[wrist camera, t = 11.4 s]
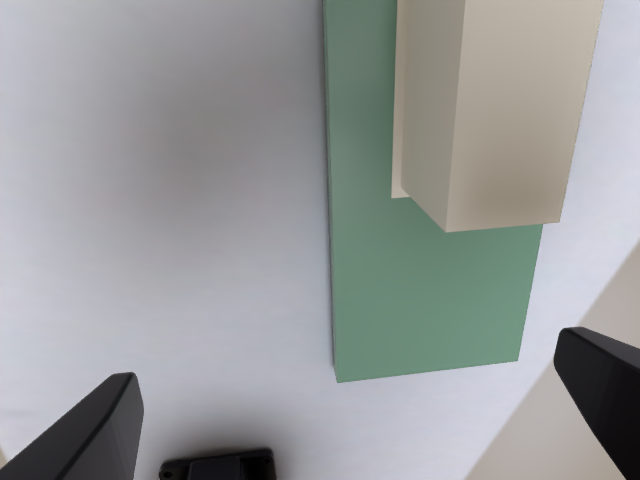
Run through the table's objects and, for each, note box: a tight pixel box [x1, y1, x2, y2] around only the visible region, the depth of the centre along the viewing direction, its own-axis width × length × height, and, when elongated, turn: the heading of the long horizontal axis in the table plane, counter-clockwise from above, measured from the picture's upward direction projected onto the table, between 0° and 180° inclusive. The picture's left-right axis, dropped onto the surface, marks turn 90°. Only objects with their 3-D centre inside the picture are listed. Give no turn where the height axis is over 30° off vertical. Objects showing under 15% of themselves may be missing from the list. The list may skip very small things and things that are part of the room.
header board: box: [323, 0, 543, 383], centre depth 19 cm, size 21×10×4 cm, turn 2°
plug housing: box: [401, 0, 604, 233], centre depth 15 cm, size 9×4×5 cm, turn 2°
